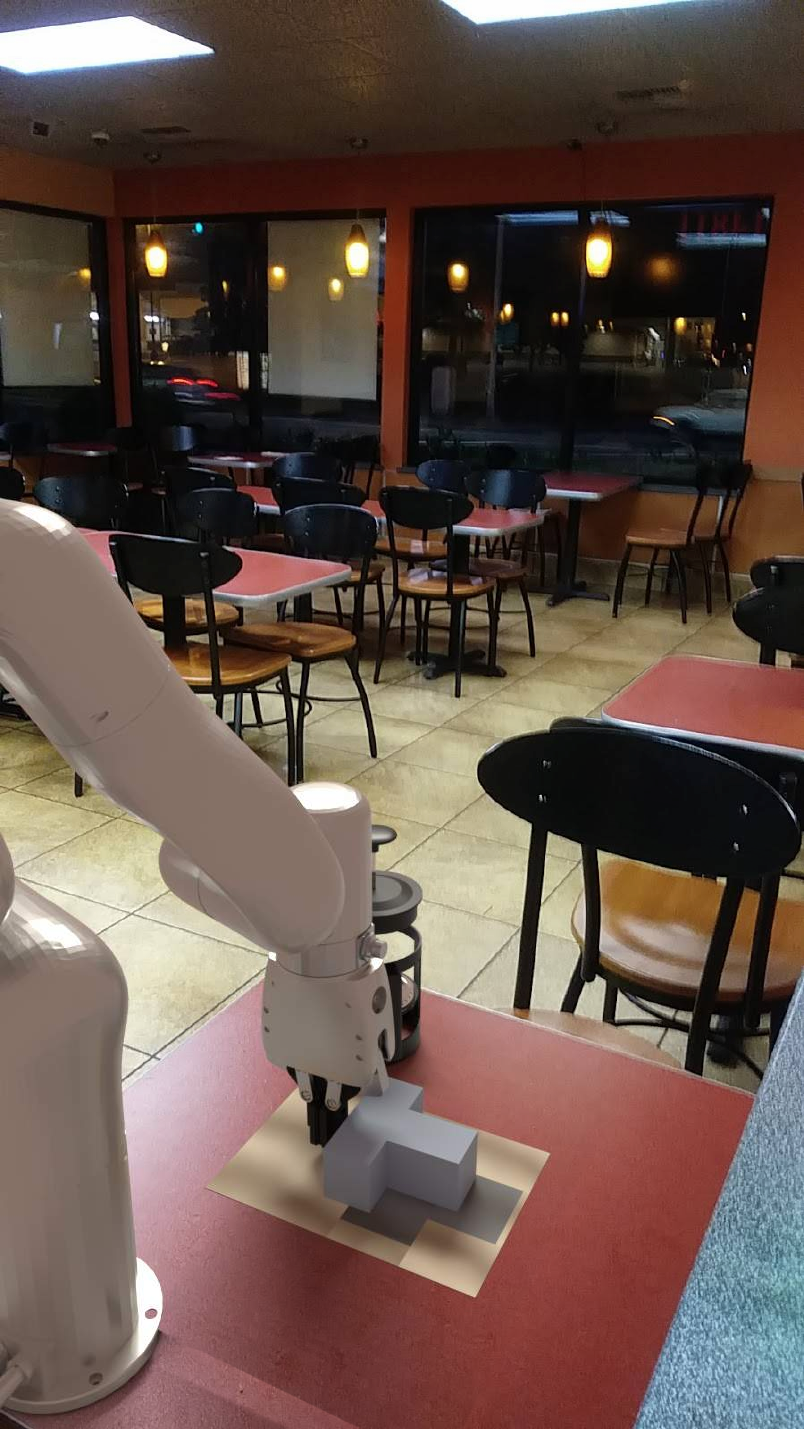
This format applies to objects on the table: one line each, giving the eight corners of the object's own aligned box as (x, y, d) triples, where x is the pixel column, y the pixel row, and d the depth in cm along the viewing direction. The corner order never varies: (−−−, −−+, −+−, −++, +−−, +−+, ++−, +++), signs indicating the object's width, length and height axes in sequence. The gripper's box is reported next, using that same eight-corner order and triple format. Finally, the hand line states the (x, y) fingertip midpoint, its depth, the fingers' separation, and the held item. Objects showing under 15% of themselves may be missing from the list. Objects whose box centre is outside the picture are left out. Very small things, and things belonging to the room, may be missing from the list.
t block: (442, 1239, 79) (443, 1190, 78) (323, 1196, 83) (323, 1149, 82) (489, 1153, 88) (491, 1108, 87) (380, 1118, 92) (380, 1074, 91)
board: (474, 1310, 75) (475, 1297, 75) (205, 1199, 85) (205, 1187, 84) (549, 1165, 88) (550, 1153, 88) (310, 1083, 98) (310, 1072, 98)
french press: (314, 1024, 107) (310, 812, 100) (404, 1009, 109) (406, 802, 102) (341, 1098, 96) (339, 867, 89) (440, 1080, 99) (446, 854, 92)
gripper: (432, 940, 83) (429, 1135, 88) (267, 899, 89) (274, 1084, 94) (389, 989, 76) (389, 1196, 82) (214, 941, 82) (226, 1137, 88)
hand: (328, 1135), depth 88 cm, fingers closed
